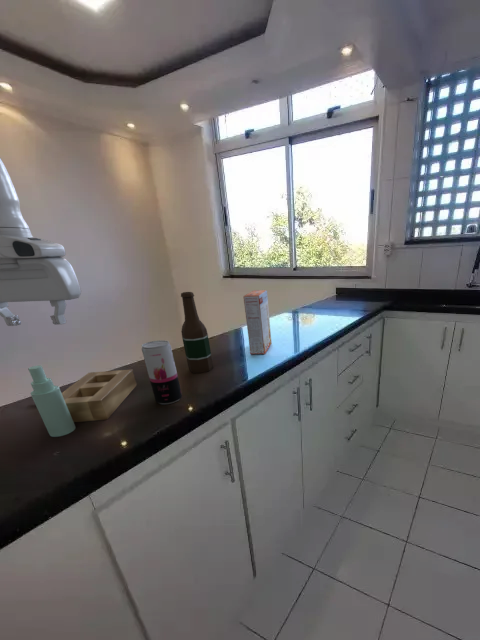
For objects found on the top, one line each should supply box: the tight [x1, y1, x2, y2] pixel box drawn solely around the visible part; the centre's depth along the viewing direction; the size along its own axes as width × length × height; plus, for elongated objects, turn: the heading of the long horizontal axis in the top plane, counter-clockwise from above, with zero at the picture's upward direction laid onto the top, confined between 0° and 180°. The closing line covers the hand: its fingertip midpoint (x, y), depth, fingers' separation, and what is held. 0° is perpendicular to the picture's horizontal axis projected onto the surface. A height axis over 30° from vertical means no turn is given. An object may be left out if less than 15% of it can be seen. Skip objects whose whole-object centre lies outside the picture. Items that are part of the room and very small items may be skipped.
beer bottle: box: [180, 291, 214, 374], centre depth 96 cm, size 8×8×24 cm
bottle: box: [28, 365, 77, 438], centre depth 65 cm, size 5×5×15 cm
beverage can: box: [141, 339, 183, 405], centre depth 78 cm, size 7×6×15 cm
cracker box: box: [243, 289, 272, 355], centre depth 115 cm, size 14×6×21 cm, turn 174°
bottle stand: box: [61, 368, 138, 423], centre depth 80 cm, size 12×21×5 cm, turn 8°
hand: (37, 324), depth 62 cm, fingers open, 8 cm apart
